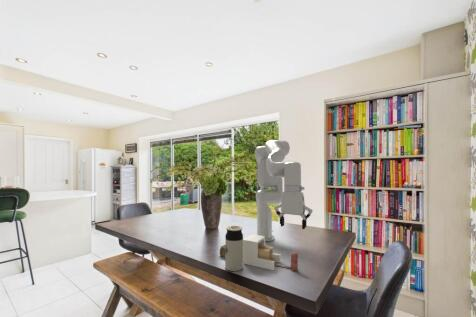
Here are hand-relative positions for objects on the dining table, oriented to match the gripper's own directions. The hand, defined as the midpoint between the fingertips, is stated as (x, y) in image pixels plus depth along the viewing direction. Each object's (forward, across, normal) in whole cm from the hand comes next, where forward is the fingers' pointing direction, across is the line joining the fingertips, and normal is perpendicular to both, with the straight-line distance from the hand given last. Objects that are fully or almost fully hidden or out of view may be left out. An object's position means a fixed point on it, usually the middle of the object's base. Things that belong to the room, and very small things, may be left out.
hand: (292, 227), depth 101 cm
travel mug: (+19, +24, +11) cm, 33 cm away
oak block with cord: (+19, +8, 0) cm, 20 cm away
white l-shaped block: (+19, +15, 0) cm, 24 cm away
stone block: (+19, +32, +1) cm, 37 cm away
